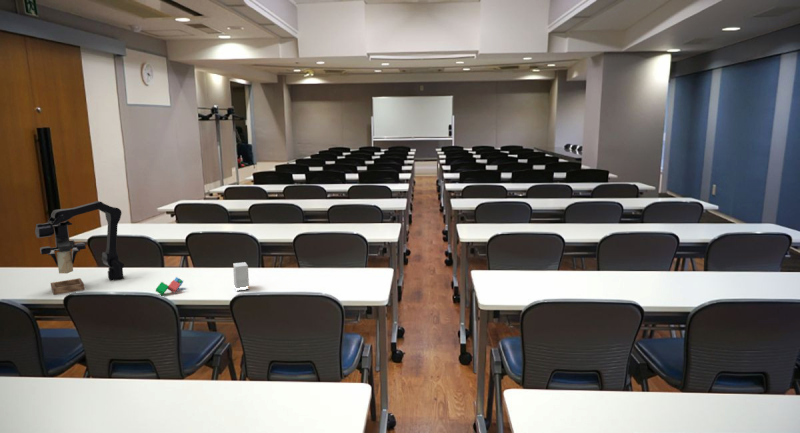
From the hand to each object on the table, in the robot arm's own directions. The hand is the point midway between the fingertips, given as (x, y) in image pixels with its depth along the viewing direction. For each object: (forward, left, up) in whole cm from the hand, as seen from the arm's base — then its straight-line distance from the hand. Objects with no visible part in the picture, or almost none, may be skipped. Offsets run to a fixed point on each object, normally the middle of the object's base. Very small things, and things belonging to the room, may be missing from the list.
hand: (65, 264), depth 252 cm
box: (0, 0, -4) cm, 4 cm away
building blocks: (-39, +39, -13) cm, 56 cm away
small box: (-69, +56, -13) cm, 90 cm away
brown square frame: (0, 0, -13) cm, 13 cm away
